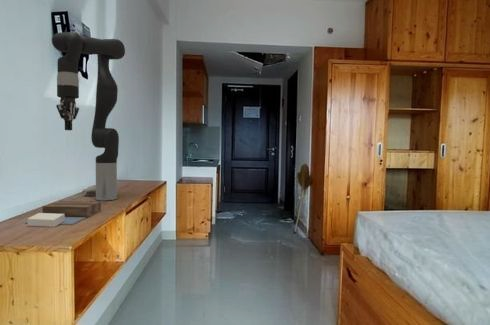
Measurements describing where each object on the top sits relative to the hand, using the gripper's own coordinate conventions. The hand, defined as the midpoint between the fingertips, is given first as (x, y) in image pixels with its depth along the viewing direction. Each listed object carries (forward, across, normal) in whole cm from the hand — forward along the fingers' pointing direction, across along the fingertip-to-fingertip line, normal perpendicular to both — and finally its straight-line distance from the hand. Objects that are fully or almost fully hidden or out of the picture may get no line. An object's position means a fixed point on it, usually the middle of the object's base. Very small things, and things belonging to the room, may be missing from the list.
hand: (68, 130), depth 134 cm
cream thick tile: (+29, +21, +3) cm, 36 cm away
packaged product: (+29, -41, -1) cm, 50 cm away
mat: (+32, +16, +4) cm, 36 cm away
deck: (+32, +5, +4) cm, 33 cm away
